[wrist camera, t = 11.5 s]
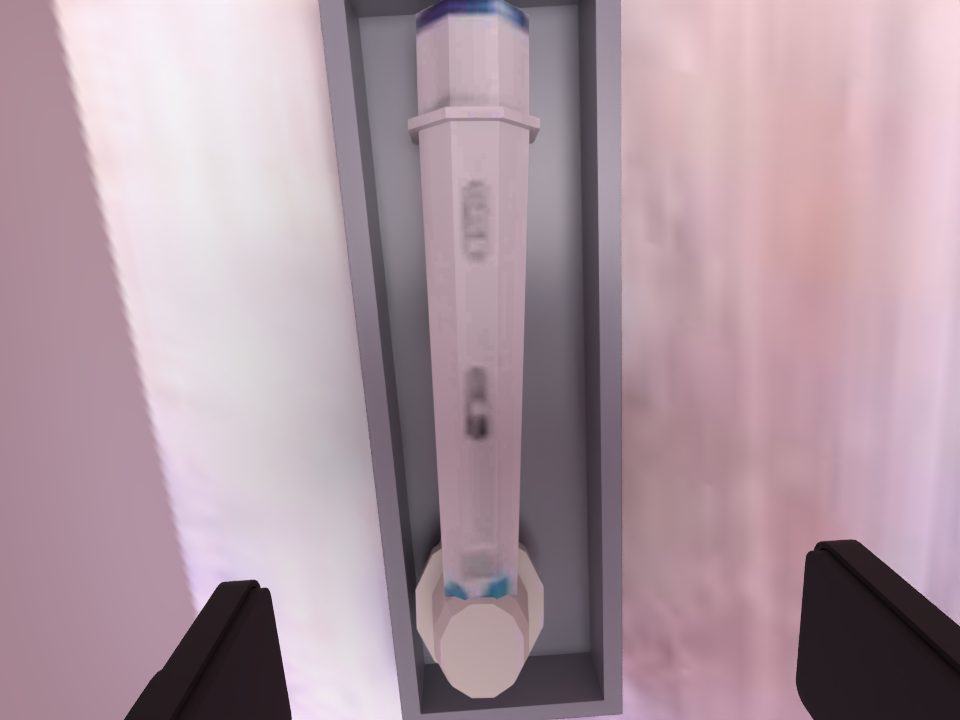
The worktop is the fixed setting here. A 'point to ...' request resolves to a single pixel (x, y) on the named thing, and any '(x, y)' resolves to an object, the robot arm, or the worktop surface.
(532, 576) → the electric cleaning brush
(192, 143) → the worktop surface
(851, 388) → the worktop surface
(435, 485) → the tray
